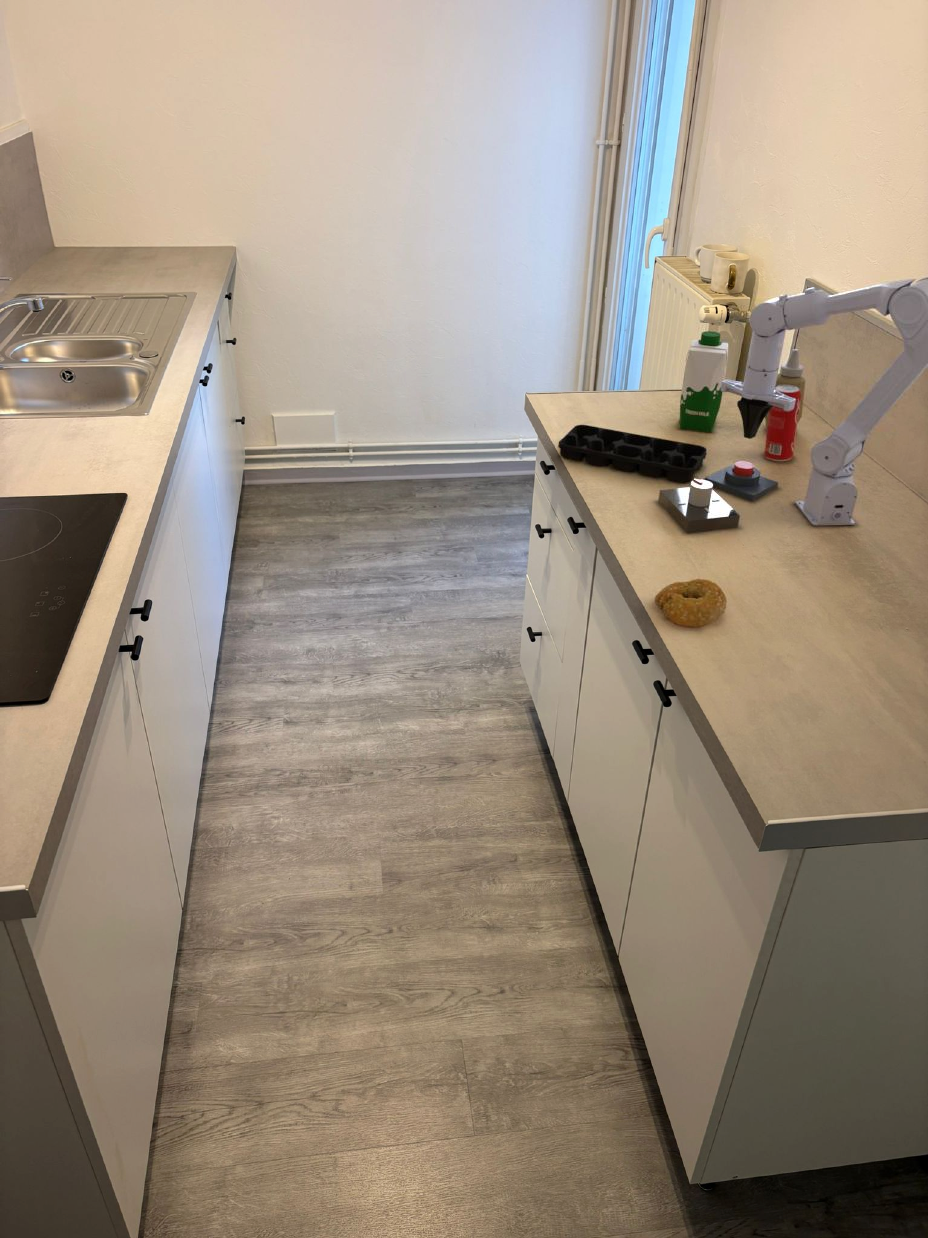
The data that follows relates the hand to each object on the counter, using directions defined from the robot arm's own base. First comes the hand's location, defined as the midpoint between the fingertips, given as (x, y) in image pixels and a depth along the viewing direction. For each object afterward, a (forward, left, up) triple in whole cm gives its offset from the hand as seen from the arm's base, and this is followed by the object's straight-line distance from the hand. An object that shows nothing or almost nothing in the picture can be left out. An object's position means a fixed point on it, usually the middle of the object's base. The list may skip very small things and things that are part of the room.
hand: (749, 436), depth 184 cm
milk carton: (+32, 0, -11) cm, 34 cm away
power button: (0, 0, -8) cm, 8 cm away
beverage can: (+14, -12, -11) cm, 21 cm away
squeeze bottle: (+29, -18, -11) cm, 36 cm away
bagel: (-45, +22, -11) cm, 52 cm away
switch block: (0, 0, -10) cm, 10 cm away
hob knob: (-12, +12, -8) cm, 19 cm away
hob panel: (-12, +12, -10) cm, 20 cm away
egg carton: (+13, +19, -11) cm, 25 cm away
